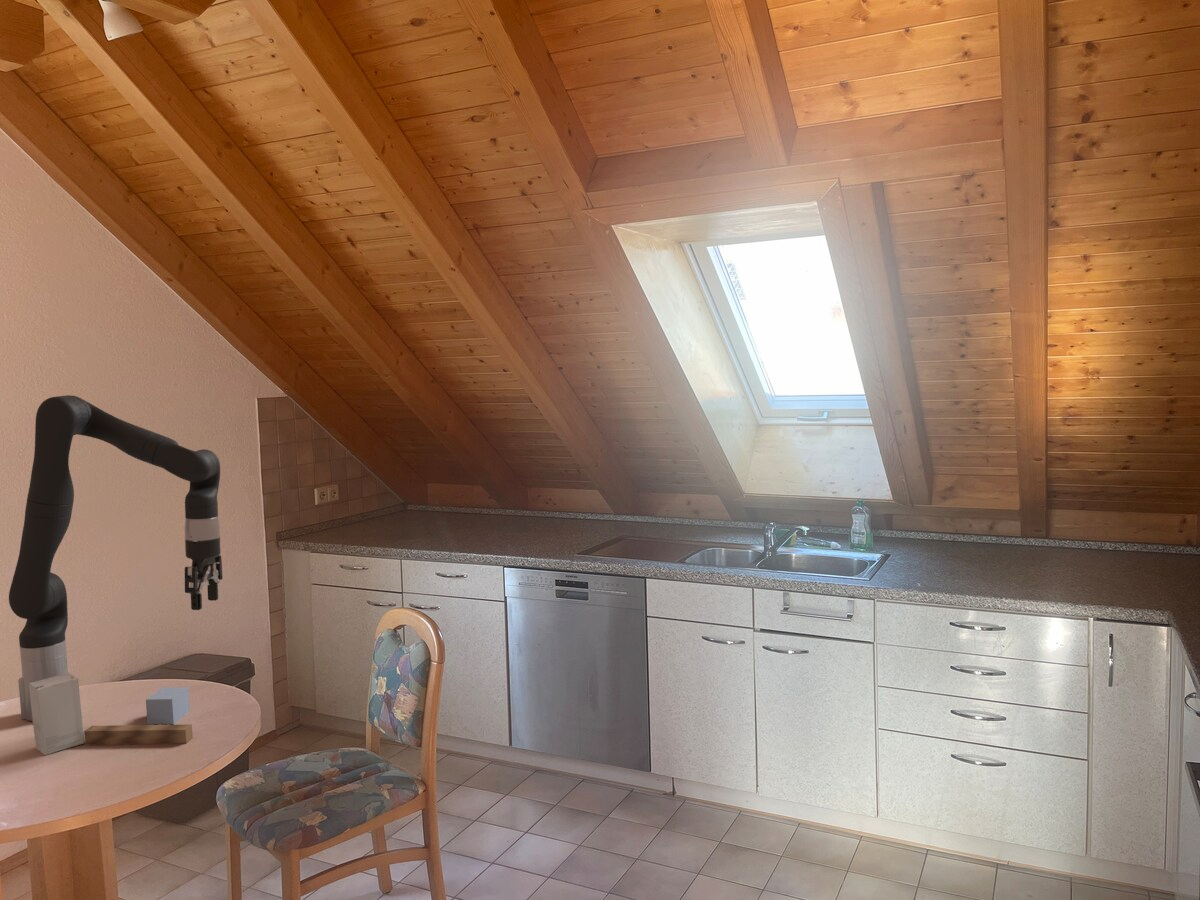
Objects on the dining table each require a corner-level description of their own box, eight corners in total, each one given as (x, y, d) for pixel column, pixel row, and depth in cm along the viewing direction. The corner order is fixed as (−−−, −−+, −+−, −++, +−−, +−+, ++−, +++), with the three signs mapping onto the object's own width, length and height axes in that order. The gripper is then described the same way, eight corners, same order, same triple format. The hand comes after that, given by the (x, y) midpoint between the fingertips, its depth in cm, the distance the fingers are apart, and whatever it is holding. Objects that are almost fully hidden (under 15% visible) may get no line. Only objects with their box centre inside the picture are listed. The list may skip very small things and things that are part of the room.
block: (147, 725, 217) (145, 699, 217) (164, 712, 225) (162, 687, 225) (173, 725, 217) (172, 699, 216) (189, 711, 225) (188, 687, 224)
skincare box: (75, 737, 211) (70, 671, 209) (85, 744, 207) (80, 677, 205) (33, 749, 205) (27, 681, 203) (42, 756, 201) (36, 687, 199)
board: (85, 744, 206) (84, 731, 206) (93, 739, 209) (91, 725, 209) (186, 743, 206) (185, 729, 205) (192, 737, 209) (191, 724, 208)
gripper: (200, 530, 230) (203, 597, 232) (171, 541, 216) (174, 612, 218) (231, 531, 230) (233, 597, 232) (204, 542, 216) (207, 613, 217)
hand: (205, 604), depth 225 cm, fingers open, 8 cm apart
